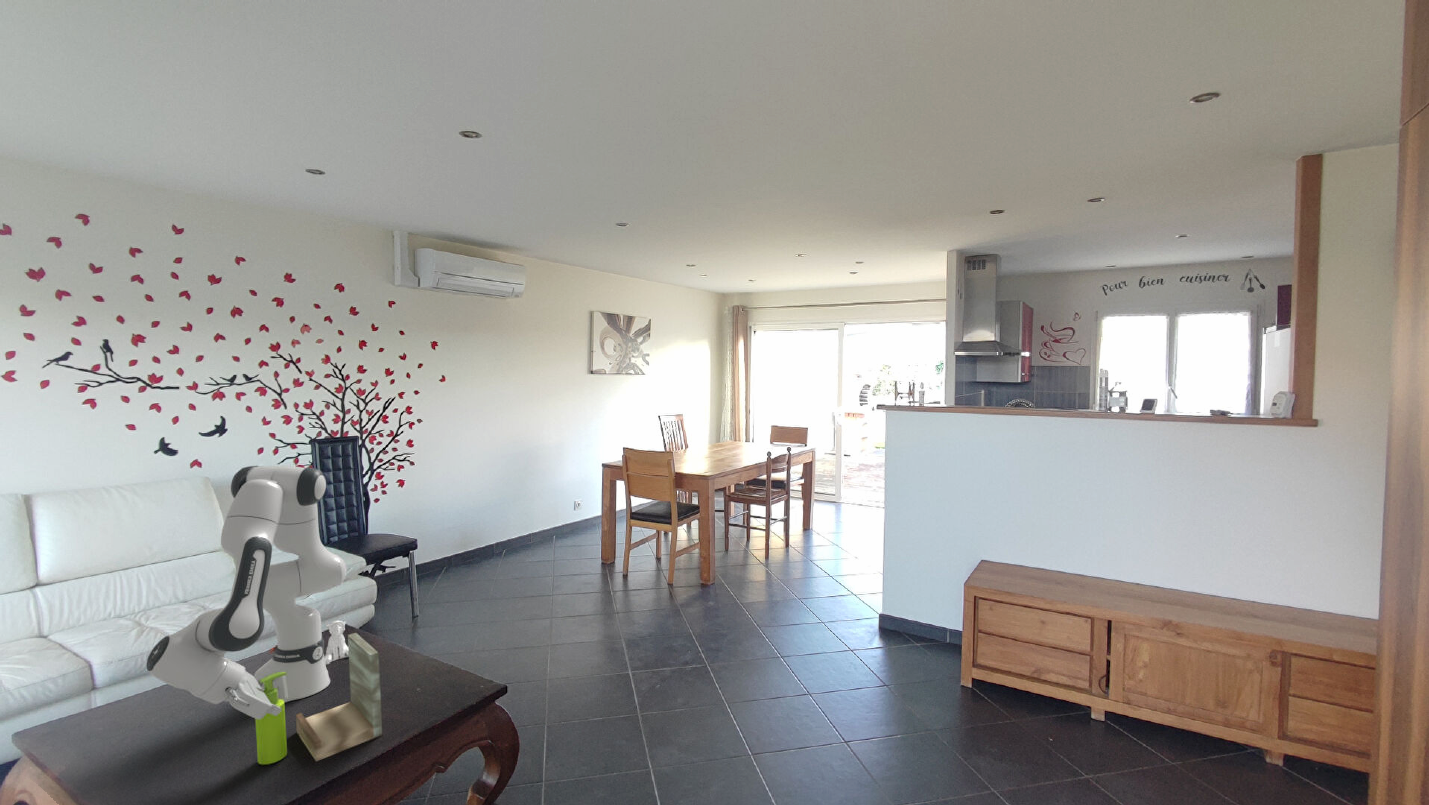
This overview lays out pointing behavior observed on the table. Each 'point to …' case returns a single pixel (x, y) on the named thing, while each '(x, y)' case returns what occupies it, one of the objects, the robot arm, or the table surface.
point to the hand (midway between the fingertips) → (275, 706)
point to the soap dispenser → (271, 726)
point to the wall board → (348, 708)
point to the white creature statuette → (336, 642)
